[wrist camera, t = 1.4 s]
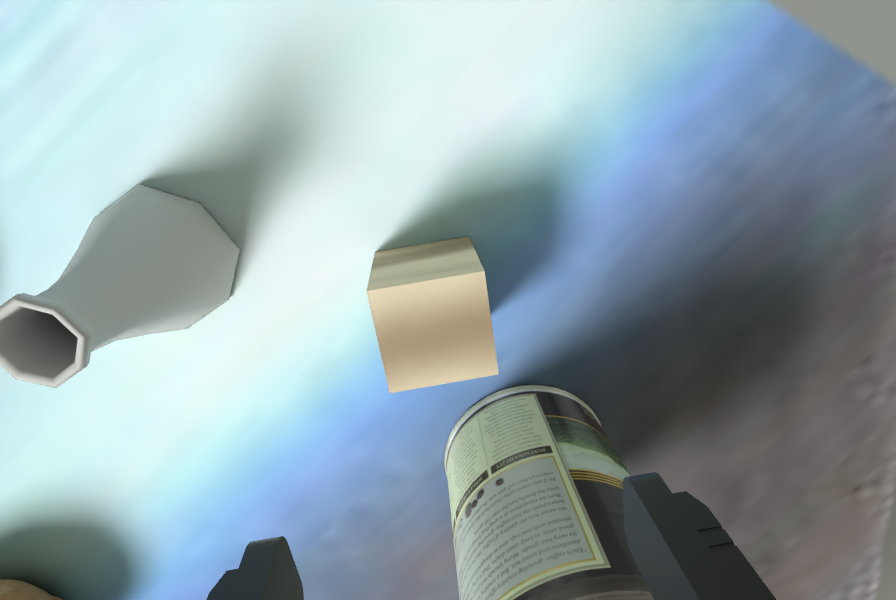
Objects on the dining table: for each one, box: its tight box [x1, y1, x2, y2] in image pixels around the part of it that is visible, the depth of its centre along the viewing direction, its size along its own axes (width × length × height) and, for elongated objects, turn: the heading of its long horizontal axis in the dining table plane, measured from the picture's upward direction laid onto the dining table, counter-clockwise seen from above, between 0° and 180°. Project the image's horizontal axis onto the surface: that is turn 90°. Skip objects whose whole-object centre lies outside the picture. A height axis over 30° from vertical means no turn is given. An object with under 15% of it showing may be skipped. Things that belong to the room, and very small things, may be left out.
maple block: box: [367, 236, 498, 393], centre depth 25 cm, size 5×5×6 cm
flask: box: [0, 184, 240, 388], centre depth 22 cm, size 7×7×10 cm
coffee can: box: [444, 385, 654, 600], centre depth 26 cm, size 10×10×14 cm
